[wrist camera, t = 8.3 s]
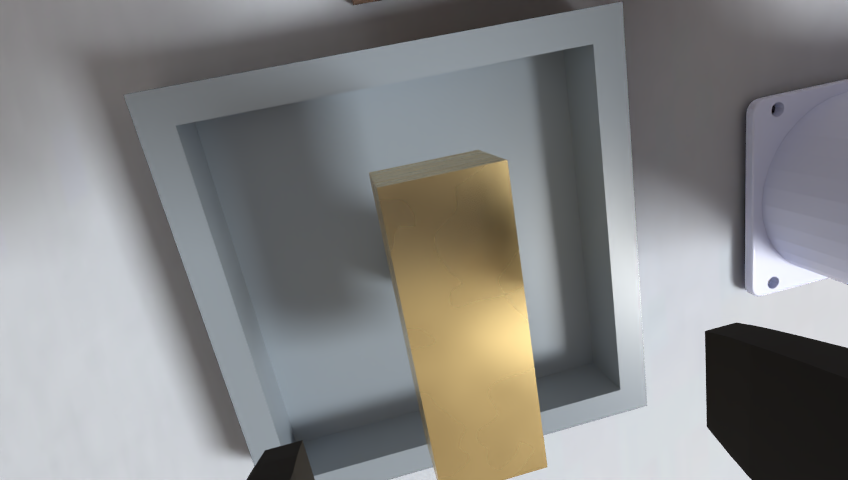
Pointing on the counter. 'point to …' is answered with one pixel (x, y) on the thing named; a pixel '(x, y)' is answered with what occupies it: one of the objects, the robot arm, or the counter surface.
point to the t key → (463, 312)
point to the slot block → (362, 1)
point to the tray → (361, 234)
